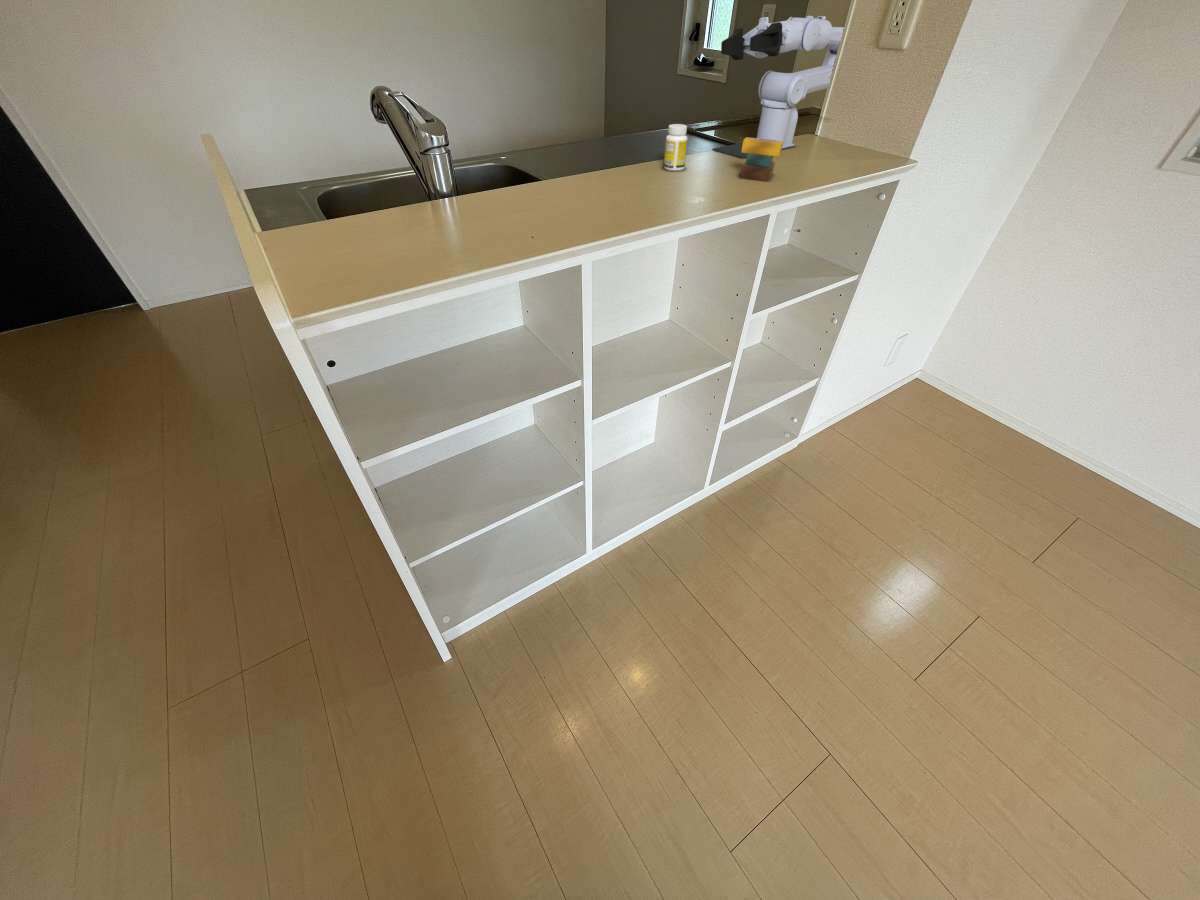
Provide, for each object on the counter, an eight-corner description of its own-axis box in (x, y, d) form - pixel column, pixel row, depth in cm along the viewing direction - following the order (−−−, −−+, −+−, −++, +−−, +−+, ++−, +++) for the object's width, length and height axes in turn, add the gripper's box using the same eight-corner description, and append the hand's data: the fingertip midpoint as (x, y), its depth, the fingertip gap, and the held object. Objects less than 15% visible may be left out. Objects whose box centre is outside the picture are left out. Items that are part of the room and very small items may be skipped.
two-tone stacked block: (740, 177, 111) (744, 154, 108) (745, 170, 115) (749, 148, 112) (767, 181, 109) (772, 157, 106) (772, 174, 113) (777, 151, 110)
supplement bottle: (684, 166, 118) (688, 123, 112) (684, 171, 114) (689, 128, 108) (663, 165, 118) (667, 123, 112) (663, 170, 114) (667, 127, 109)
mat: (748, 142, 135) (749, 141, 135) (778, 150, 129) (779, 148, 129) (712, 149, 129) (712, 148, 129) (742, 158, 123) (742, 156, 123)
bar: (741, 152, 109) (743, 139, 108) (743, 149, 111) (746, 137, 110) (778, 156, 107) (781, 143, 105) (780, 153, 109) (783, 140, 107)
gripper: (750, 19, 116) (710, 26, 110) (806, 10, 107) (766, 16, 101) (748, 58, 121) (710, 66, 115) (802, 52, 111) (764, 60, 105)
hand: (736, 45), depth 108 cm, fingers open, 7 cm apart
